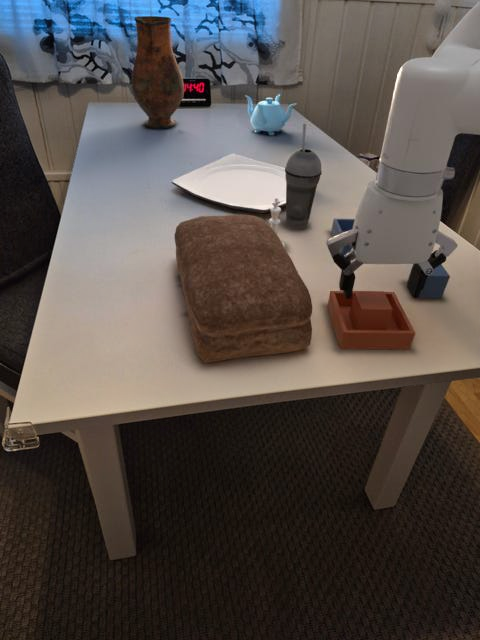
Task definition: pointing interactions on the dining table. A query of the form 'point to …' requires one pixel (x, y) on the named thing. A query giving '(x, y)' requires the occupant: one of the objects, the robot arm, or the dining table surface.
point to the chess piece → (275, 216)
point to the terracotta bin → (391, 338)
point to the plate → (237, 183)
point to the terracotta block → (370, 310)
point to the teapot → (268, 115)
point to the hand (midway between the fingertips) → (379, 293)
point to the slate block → (435, 283)
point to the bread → (241, 288)
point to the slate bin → (342, 231)
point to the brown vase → (156, 72)
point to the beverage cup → (301, 185)
